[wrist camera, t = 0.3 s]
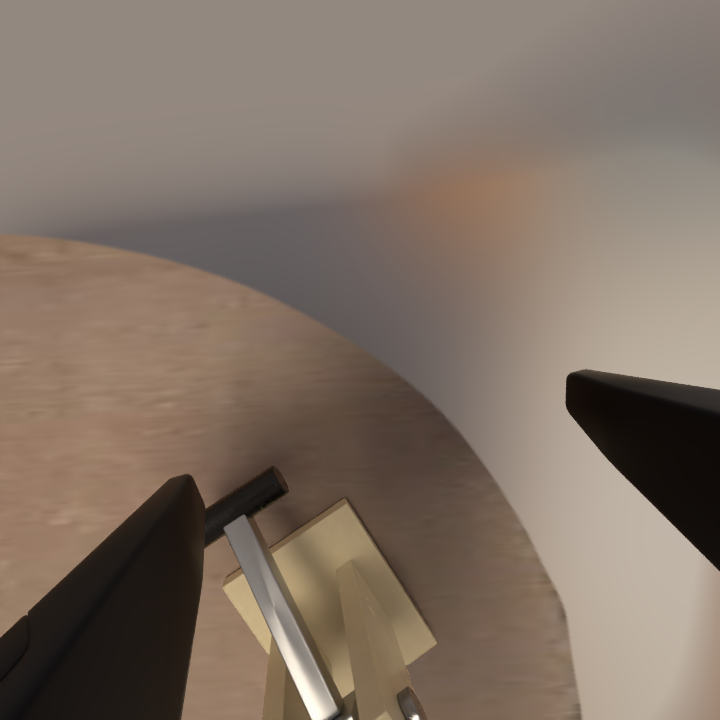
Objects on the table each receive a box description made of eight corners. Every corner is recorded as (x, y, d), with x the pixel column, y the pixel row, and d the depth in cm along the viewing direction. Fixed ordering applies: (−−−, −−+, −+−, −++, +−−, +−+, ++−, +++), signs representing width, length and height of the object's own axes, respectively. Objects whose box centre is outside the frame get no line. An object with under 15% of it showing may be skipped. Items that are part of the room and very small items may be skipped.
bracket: (224, 577, 23) (155, 776, 12) (345, 497, 24) (380, 613, 13) (319, 715, 24) (333, 1016, 13) (432, 632, 24) (533, 847, 14)
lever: (189, 527, 19) (162, 529, 17) (280, 467, 20) (265, 462, 17) (317, 825, 15) (302, 880, 13) (427, 739, 16) (432, 777, 13)
